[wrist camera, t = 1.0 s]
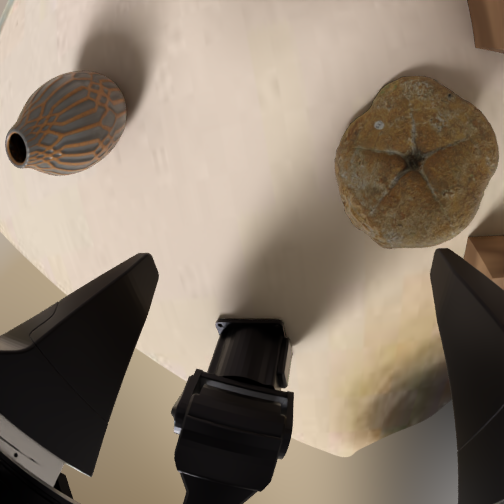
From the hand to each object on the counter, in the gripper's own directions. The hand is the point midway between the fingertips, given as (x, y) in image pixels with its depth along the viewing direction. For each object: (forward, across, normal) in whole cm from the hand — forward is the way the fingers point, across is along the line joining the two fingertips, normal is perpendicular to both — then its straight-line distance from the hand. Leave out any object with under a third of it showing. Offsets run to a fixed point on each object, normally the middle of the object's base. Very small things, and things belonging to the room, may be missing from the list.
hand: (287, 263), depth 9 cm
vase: (+12, +14, -5) cm, 19 cm away
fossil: (+12, -6, 0) cm, 14 cm away
